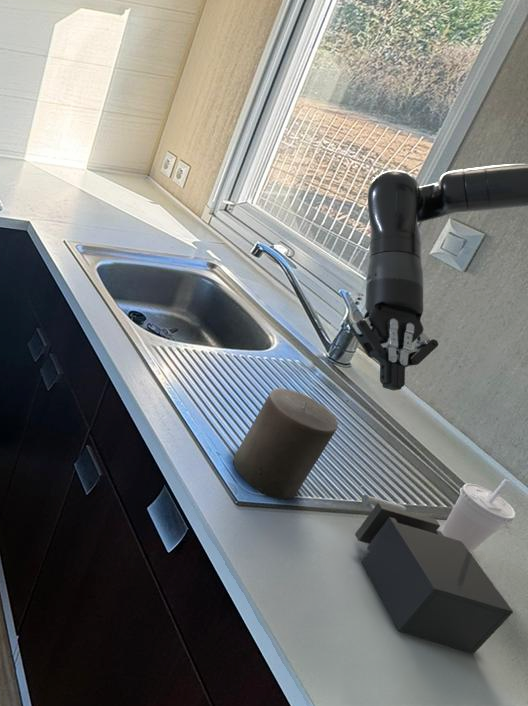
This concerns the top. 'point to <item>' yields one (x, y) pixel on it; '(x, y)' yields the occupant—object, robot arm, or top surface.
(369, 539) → the dark grey angled piece
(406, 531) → the dark grey box
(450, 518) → the smoothie
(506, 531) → the top surface
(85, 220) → the top surface
